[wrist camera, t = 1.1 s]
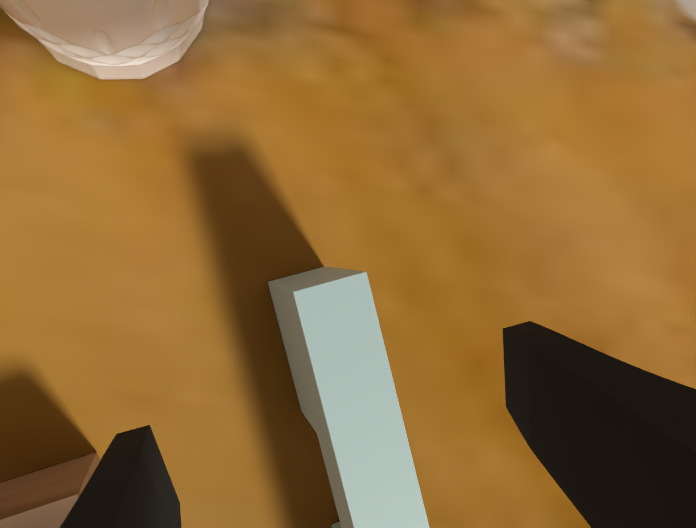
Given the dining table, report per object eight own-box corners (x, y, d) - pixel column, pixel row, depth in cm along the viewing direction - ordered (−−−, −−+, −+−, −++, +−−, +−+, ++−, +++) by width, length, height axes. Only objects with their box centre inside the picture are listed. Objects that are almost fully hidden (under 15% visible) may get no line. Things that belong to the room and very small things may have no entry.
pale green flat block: (413, 622, 26) (479, 729, 20) (362, 644, 25) (414, 762, 20) (324, 266, 25) (366, 271, 19) (267, 281, 24) (293, 291, 18)
